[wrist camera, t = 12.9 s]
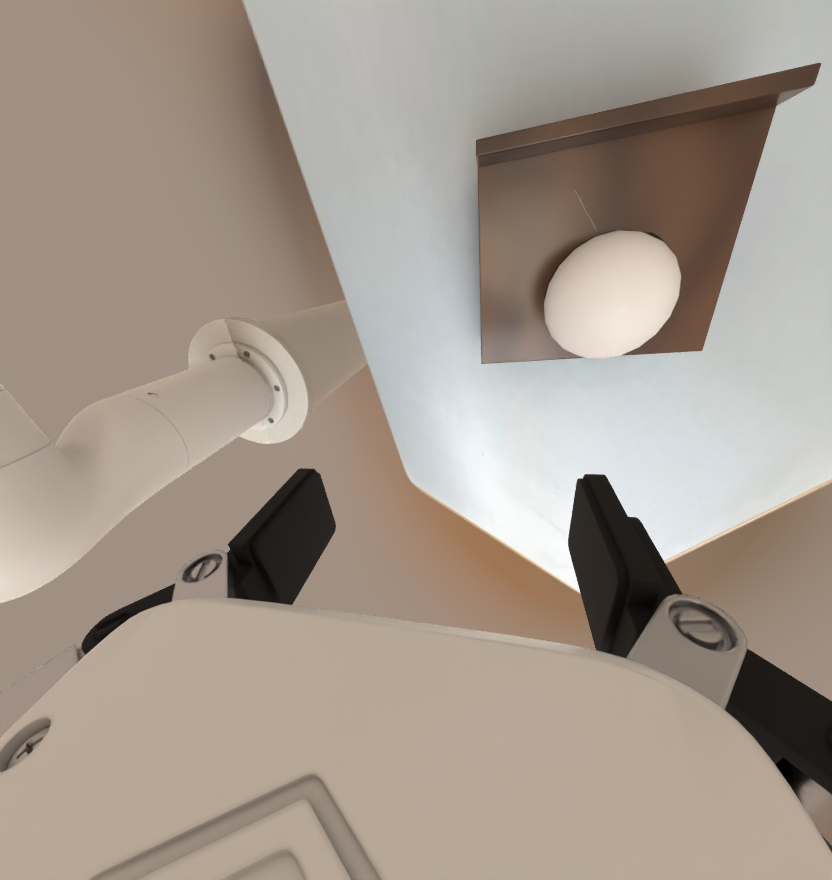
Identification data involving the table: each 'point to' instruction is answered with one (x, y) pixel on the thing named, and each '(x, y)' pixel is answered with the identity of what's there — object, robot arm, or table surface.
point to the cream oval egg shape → (612, 293)
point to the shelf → (621, 203)
